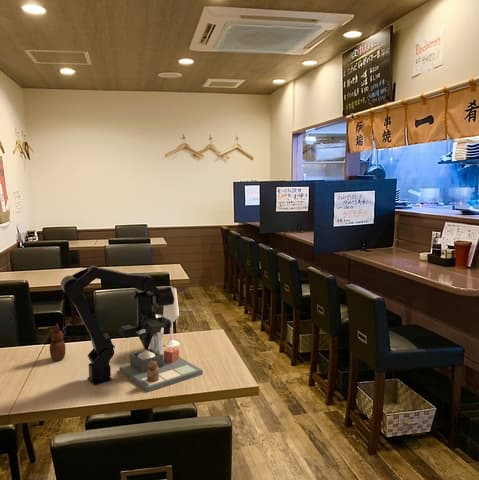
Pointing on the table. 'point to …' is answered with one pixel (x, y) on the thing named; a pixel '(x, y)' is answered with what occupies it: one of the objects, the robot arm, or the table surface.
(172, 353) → the red die
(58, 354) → the wooden figurine
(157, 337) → the beer glass
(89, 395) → the table surface
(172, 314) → the champagne flute
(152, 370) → the walnut pawn
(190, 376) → the game board
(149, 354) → the dome button
